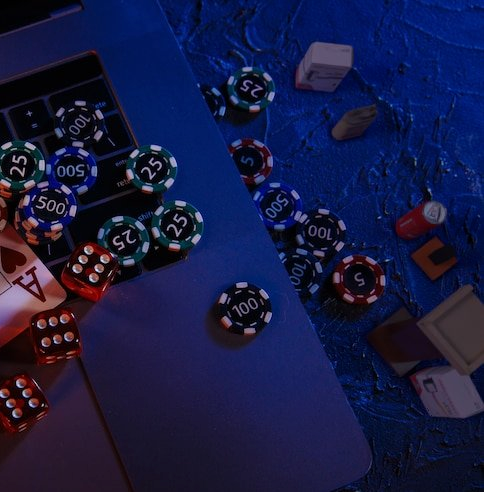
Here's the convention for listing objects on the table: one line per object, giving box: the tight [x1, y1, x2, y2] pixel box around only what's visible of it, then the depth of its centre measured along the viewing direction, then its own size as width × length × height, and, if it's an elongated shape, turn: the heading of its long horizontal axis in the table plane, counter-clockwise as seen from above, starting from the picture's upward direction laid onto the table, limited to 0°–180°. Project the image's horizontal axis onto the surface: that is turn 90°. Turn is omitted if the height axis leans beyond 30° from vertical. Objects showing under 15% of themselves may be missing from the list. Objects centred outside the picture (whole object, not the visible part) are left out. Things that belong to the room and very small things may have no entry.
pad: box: [410, 236, 459, 281], centre depth 124 cm, size 6×6×7 cm
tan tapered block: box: [331, 103, 379, 141], centre depth 129 cm, size 7×4×10 cm, turn 105°
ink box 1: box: [295, 41, 355, 93], centre depth 131 cm, size 9×5×12 cm, turn 83°
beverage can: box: [395, 200, 448, 241], centre depth 123 cm, size 5×5×12 cm
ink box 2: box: [408, 364, 484, 419], centre depth 115 cm, size 9×5×12 cm, turn 22°
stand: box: [364, 306, 446, 378], centre depth 112 cm, size 10×10×23 cm
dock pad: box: [416, 283, 484, 376], centre depth 100 cm, size 10×10×2 cm
